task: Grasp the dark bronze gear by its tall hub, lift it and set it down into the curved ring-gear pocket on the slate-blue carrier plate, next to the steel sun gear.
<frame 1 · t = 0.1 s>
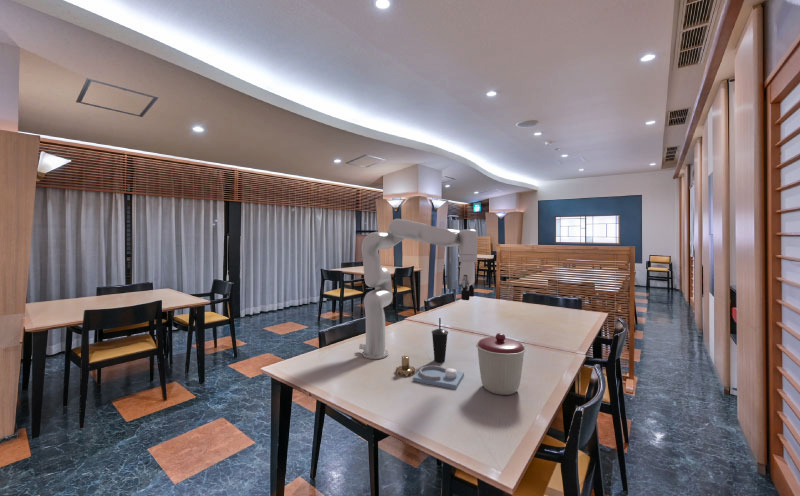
hand: (467, 298, 140), 31 cm above the table, tool pointing down, fingers open, 9 cm apart
drinking cup: (439, 361, 151), on the table
canister: (499, 389, 123), on the table
bronze gear: (405, 372, 138), on the table
carrier plate: (438, 378, 132), on the table
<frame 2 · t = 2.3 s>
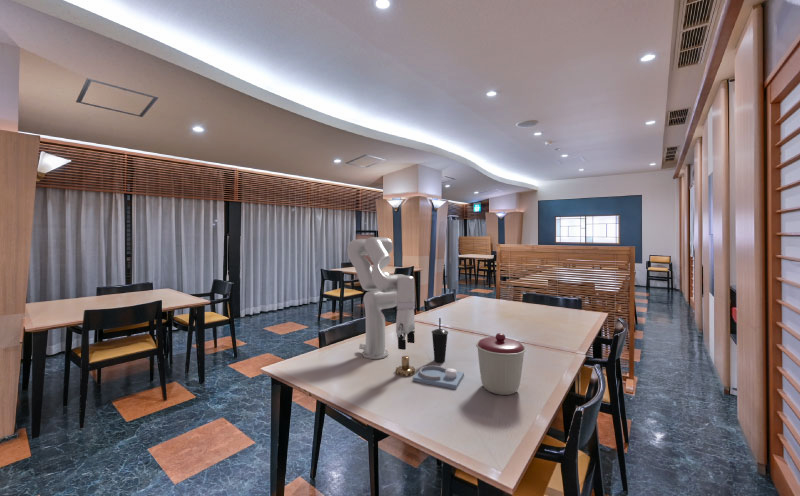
hand: (406, 345, 137), 12 cm above the table, tool pointing down, fingers open, 9 cm apart
nothing on the table moved.
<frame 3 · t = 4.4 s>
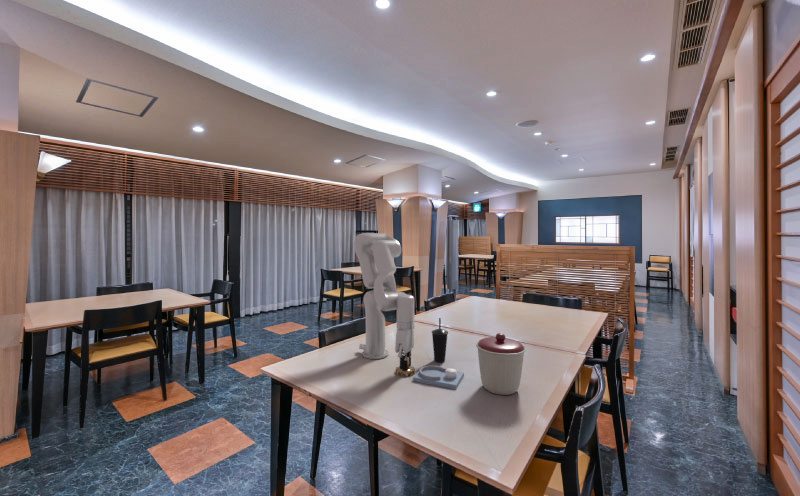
hand: (405, 367, 138), 2 cm above the table, tool pointing down, fingers closed on bronze gear, 3 cm apart
bronze gear: (405, 372, 138), on the table, touching gripper
everything else where it was.
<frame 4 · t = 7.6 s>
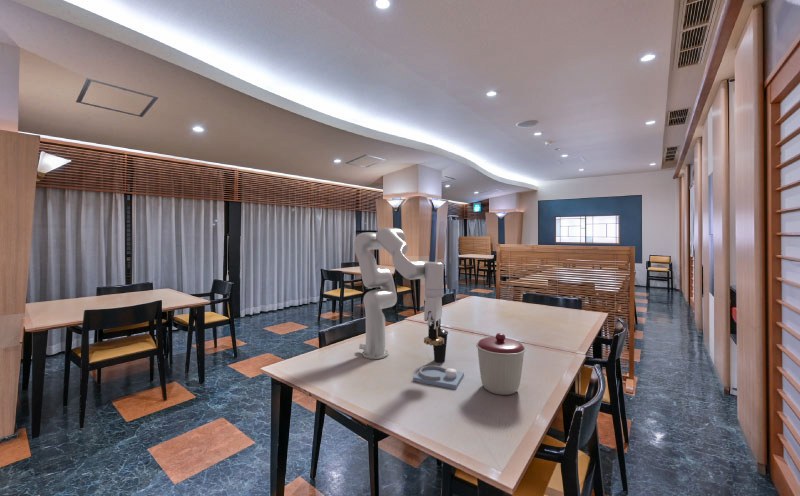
hand: (433, 337, 132), 17 cm above the table, tool pointing down, fingers closed on bronze gear, 3 cm apart
bronze gear: (433, 342, 132), point 14 cm above the table, touching gripper
everything else where it was.
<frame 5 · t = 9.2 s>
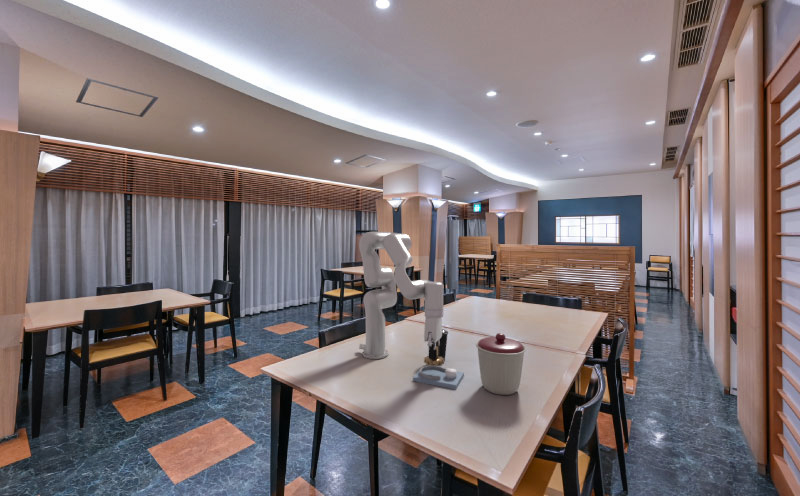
hand: (434, 357, 132), 8 cm above the table, tool pointing down, fingers closed on bronze gear, 3 cm apart
bronze gear: (434, 362, 132), point 6 cm above the table, touching gripper
everything else where it was.
when the fingers open (5 cm above the table, at t = 10.8 s): bronze gear stays where it is, resting on carrier plate.
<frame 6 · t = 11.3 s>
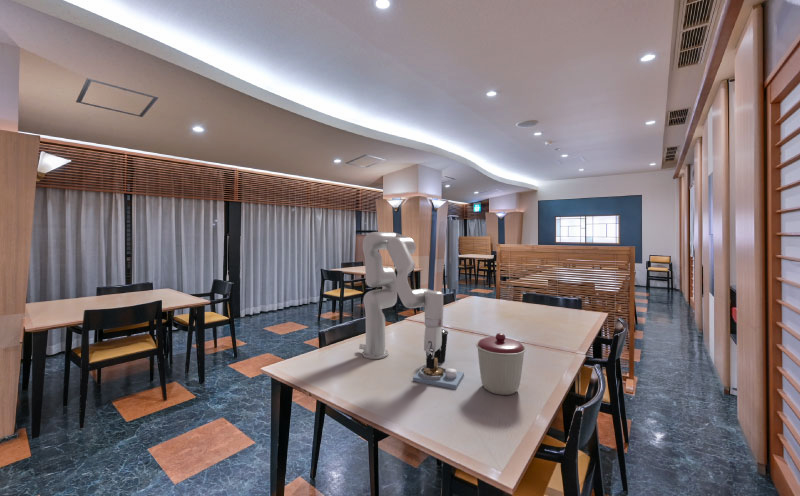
hand: (433, 364, 133), 6 cm above the table, tool pointing down, fingers open, 8 cm apart
bronze gear: (433, 373, 133), point 1 cm above the table, touching carrier plate
everything else where it was.
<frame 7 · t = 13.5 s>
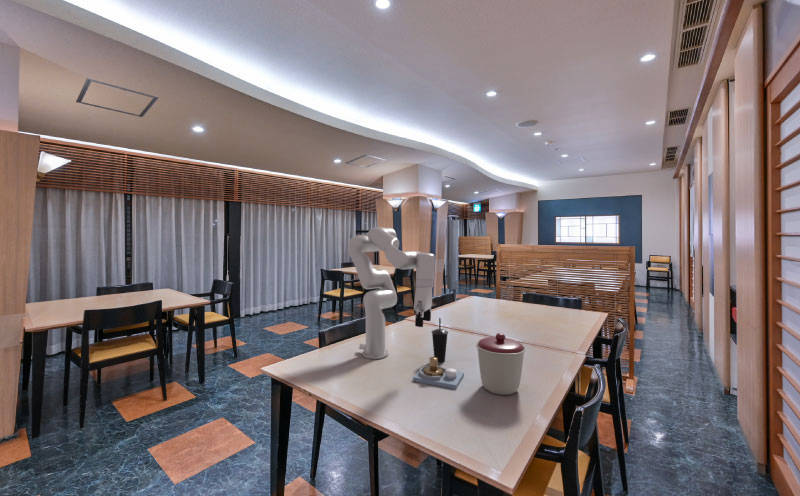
hand: (423, 323, 136), 21 cm above the table, tool pointing down, fingers open, 9 cm apart
nothing on the table moved.
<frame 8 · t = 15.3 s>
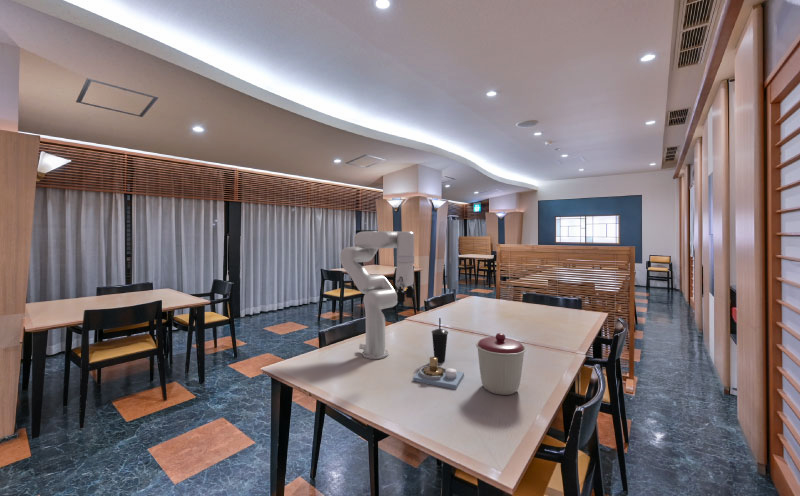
hand: (405, 299, 141), 30 cm above the table, tool pointing down, fingers open, 9 cm apart
nothing on the table moved.
at the end: bronze gear 0.0 cm from the target spot on the carrier plate, point 1.5 cm above the carrier plate's base; bronze gear tilted 0°; the gripper is holding nothing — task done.
